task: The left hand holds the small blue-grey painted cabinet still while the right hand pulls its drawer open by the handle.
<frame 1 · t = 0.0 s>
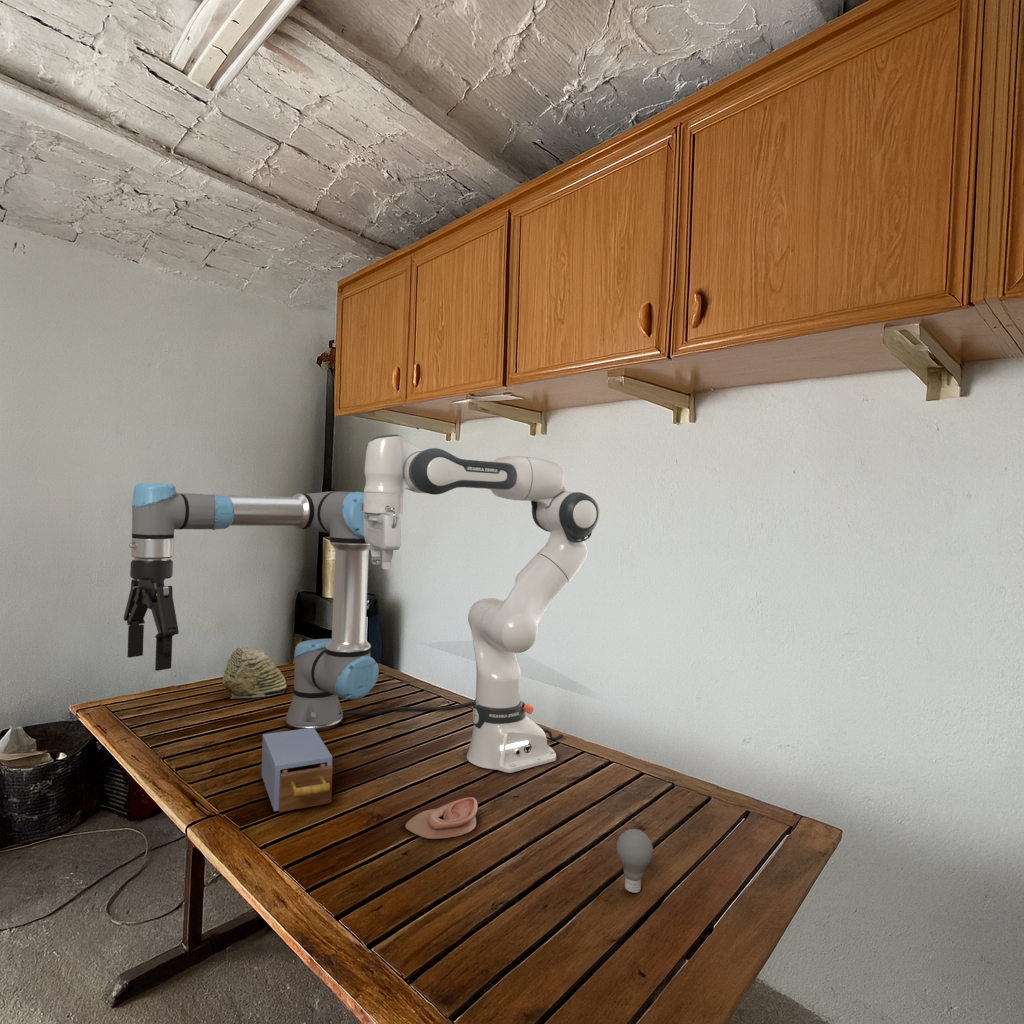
left hand: (148, 662, 129), 28 cm above the table, tool pointing down, fingers open, 13 cm apart
right hand: (380, 566, 144), 48 cm above the table, tool pointing down, fingers open, 8 cm apart
cabinet: (294, 787, 138), on the table
light bulb: (632, 891, 106), on the table
fossil: (254, 694, 198), on the table
drawer: (300, 777, 132), point 5 cm above the table, slide at 1.7 cm
anatomical model: (441, 825, 124), on the table
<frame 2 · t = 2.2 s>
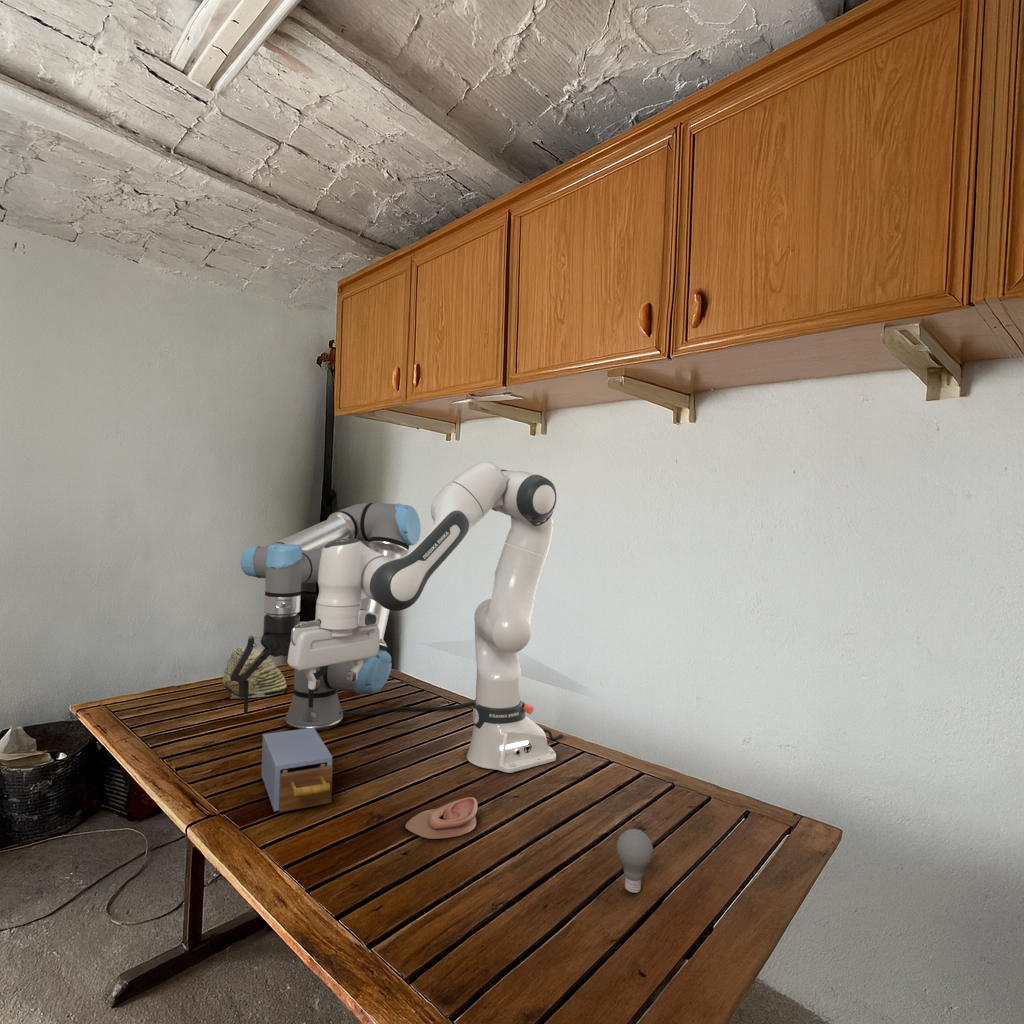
left hand: (278, 708, 141), 16 cm above the table, tool pointing down, fingers open, 13 cm apart
right hand: (333, 684, 130), 25 cm above the table, tool pointing down, fingers open, 8 cm apart
nothing on the table moved.
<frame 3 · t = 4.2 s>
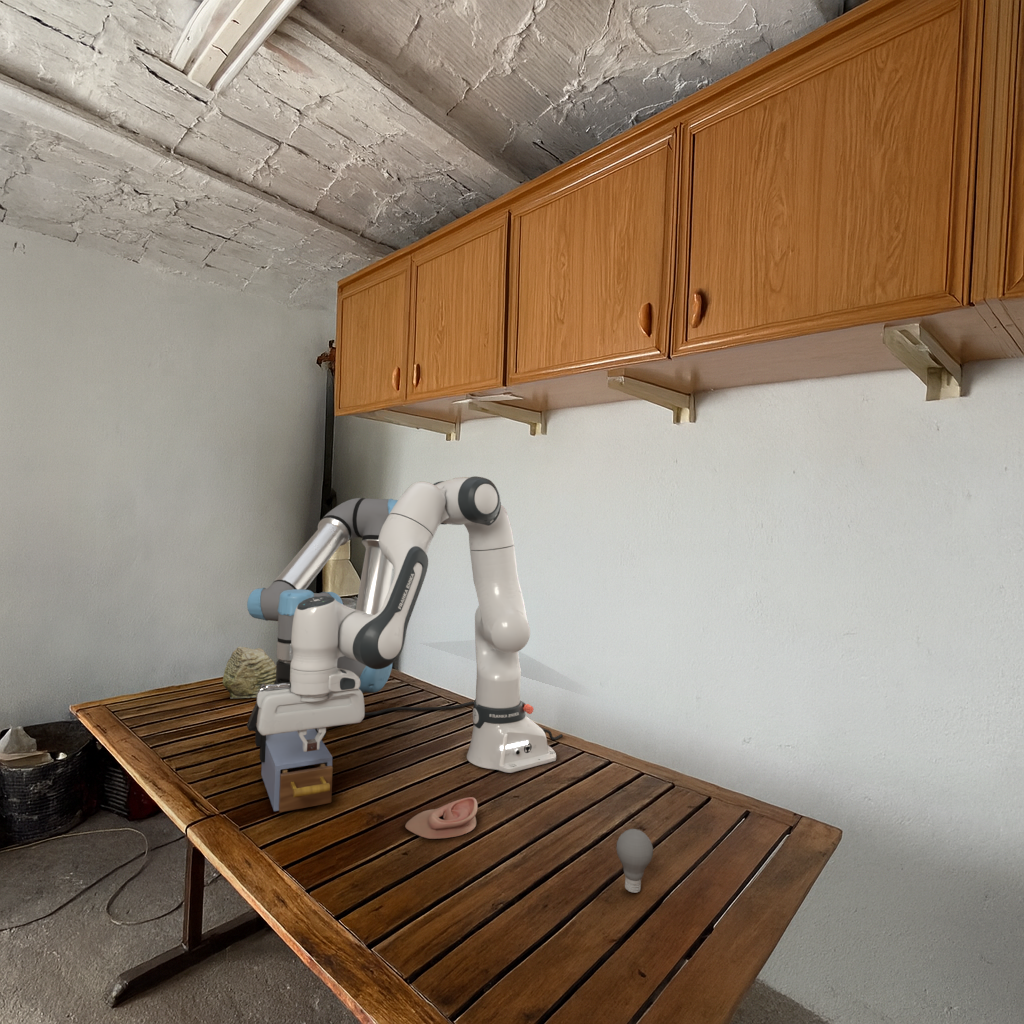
left hand: (290, 755, 143), 5 cm above the table, tool pointing down, fingers closed on cabinet, 11 cm apart
right hand: (310, 749, 125), 14 cm above the table, tool pointing down, fingers closed
cabinet: (294, 787, 138), on the table, touching left hand
everything else where it was.
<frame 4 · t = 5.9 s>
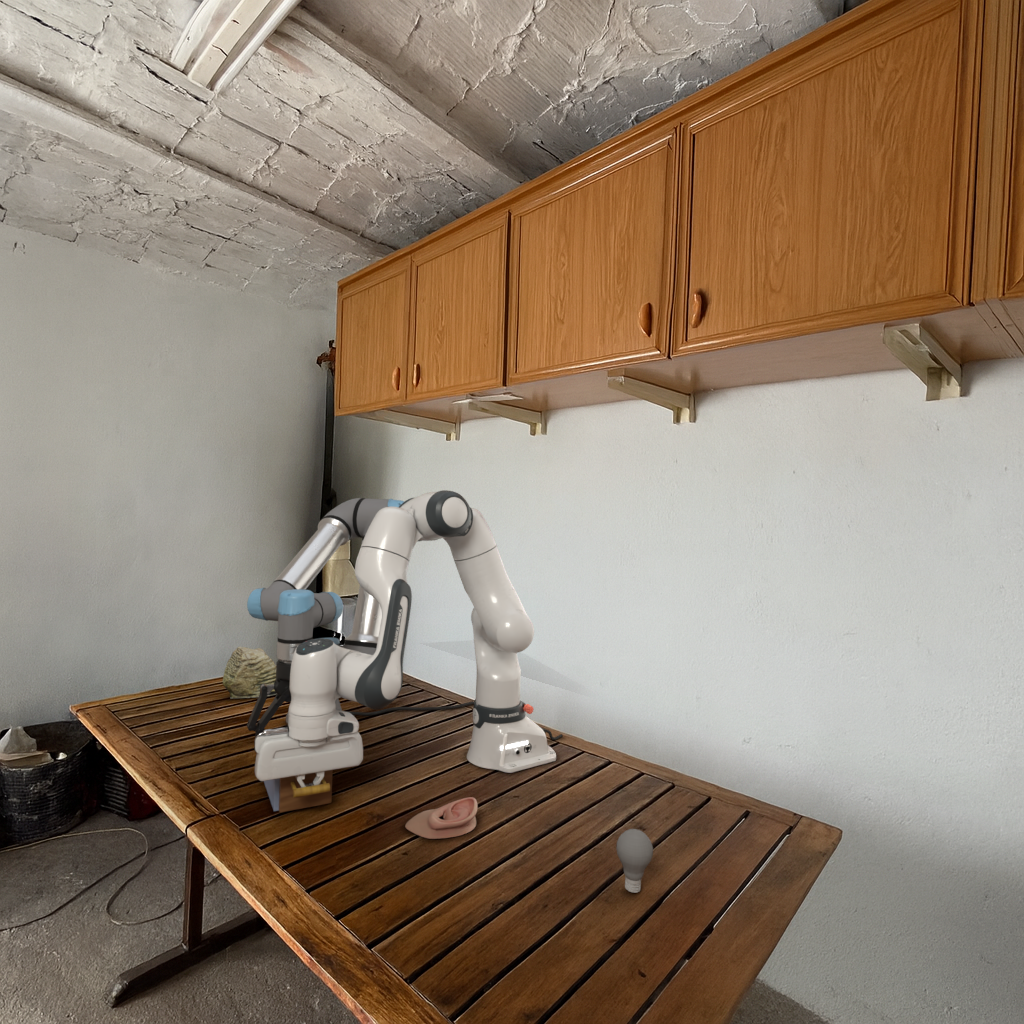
left hand: (290, 755, 143), 5 cm above the table, tool pointing down, fingers closed on cabinet, 11 cm apart
right hand: (309, 793, 124), 5 cm above the table, tool pointing down, fingers closed, pressing on drawer
cabinet: (294, 787, 138), on the table, touching left hand
drawer: (301, 777, 132), point 5 cm above the table, slide at 1.8 cm, touching right hand
everything else where it was.
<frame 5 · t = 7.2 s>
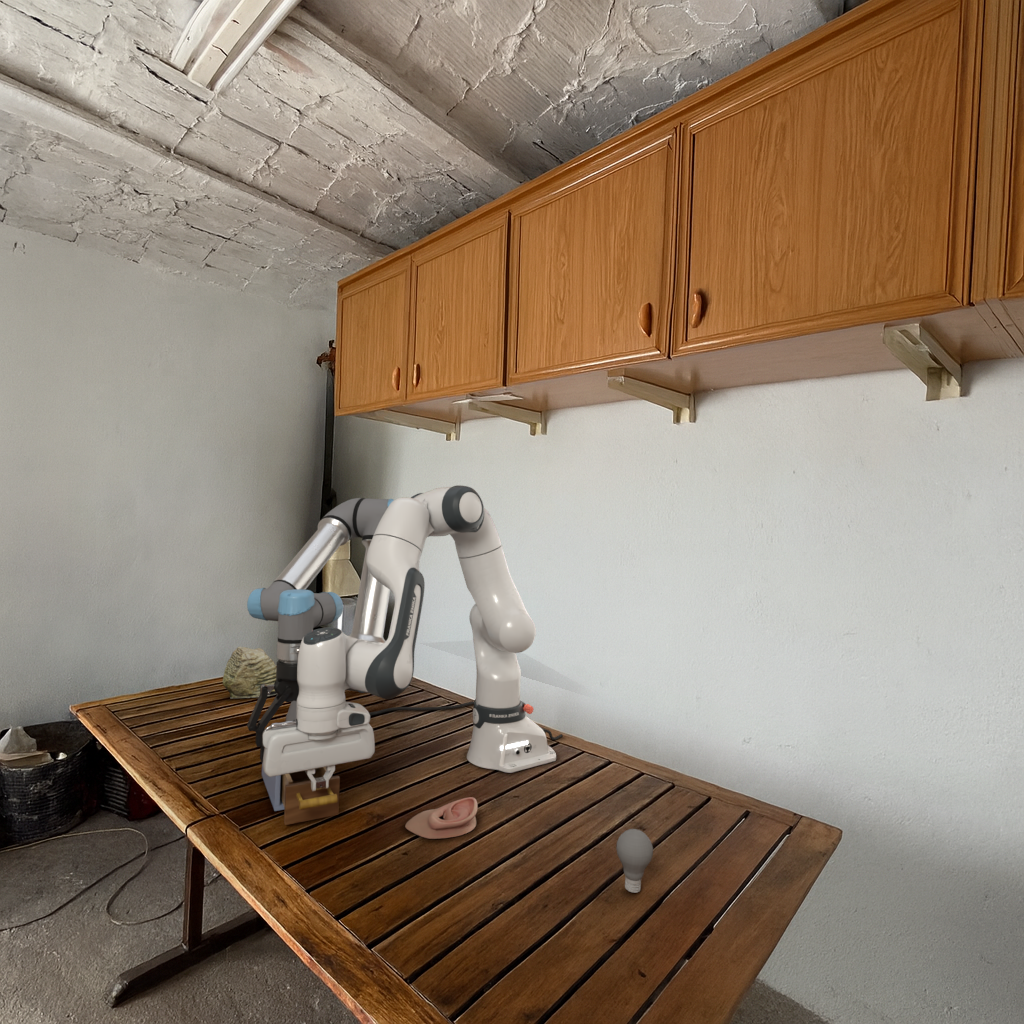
left hand: (290, 755, 143), 5 cm above the table, tool pointing down, fingers closed on cabinet, 11 cm apart
right hand: (319, 788, 120), 8 cm above the table, tool pointing down, fingers closed
cabinet: (295, 787, 137), on the table, touching left hand
drawer: (306, 788, 127), point 5 cm above the table, slide at 7.2 cm
everything else where it was.
when the left hand's fingers open (5 cm above the table, at t = 8.6 s): cabinet stays where it is, on the table.
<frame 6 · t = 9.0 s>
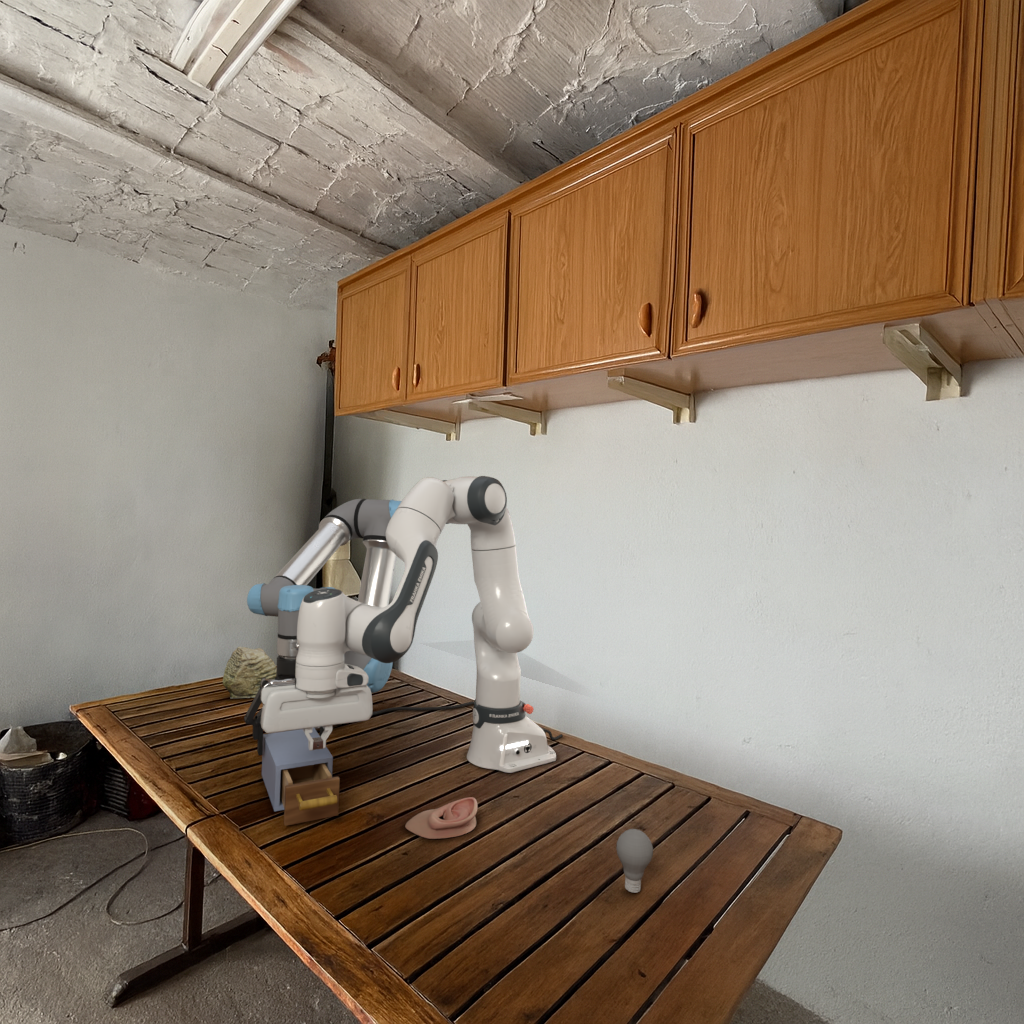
left hand: (291, 748, 143), 6 cm above the table, tool pointing down, fingers open, 13 cm apart
right hand: (316, 748, 120), 16 cm above the table, tool pointing down, fingers closed
cabinet: (295, 787, 137), on the table
everything else where it was.
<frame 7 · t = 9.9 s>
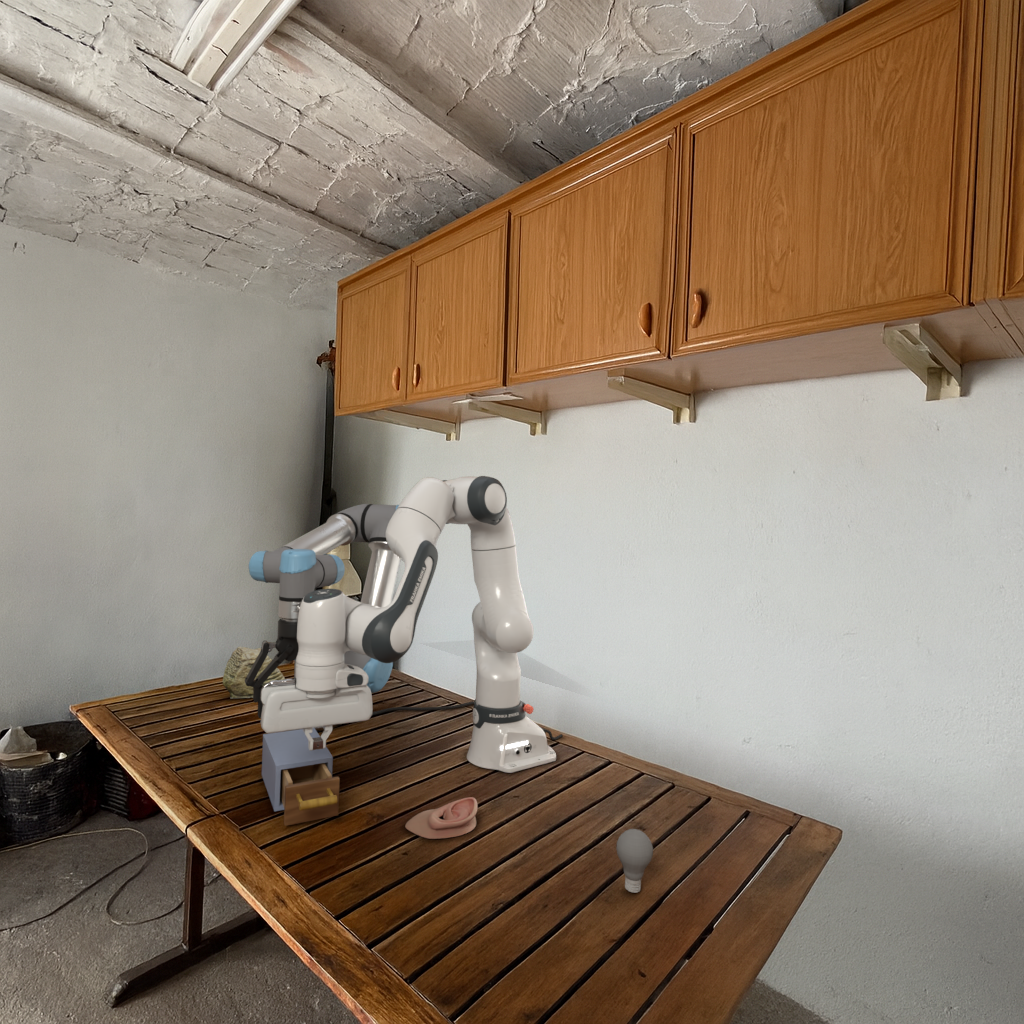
left hand: (292, 712, 143), 14 cm above the table, tool pointing down, fingers open, 13 cm apart
right hand: (316, 748, 120), 16 cm above the table, tool pointing down, fingers closed
nothing on the table moved.
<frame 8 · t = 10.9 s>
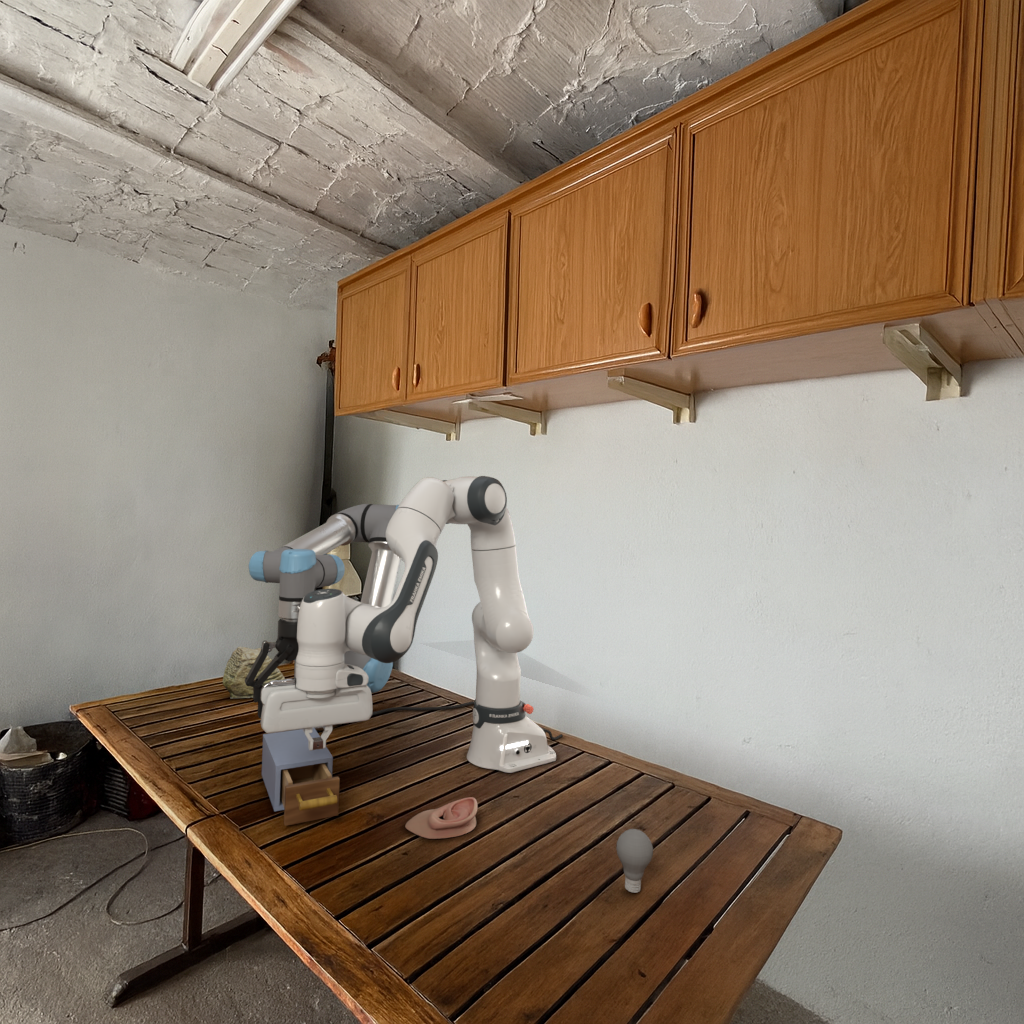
left hand: (292, 712, 143), 14 cm above the table, tool pointing down, fingers open, 13 cm apart
right hand: (316, 748, 120), 16 cm above the table, tool pointing down, fingers closed
nothing on the table moved.
at the end: drawer slide at 7.2 cm; cabinet tilted 0°; cabinet never tilted more than 1° during the clip; cabinet moved 0.1 cm from its start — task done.
